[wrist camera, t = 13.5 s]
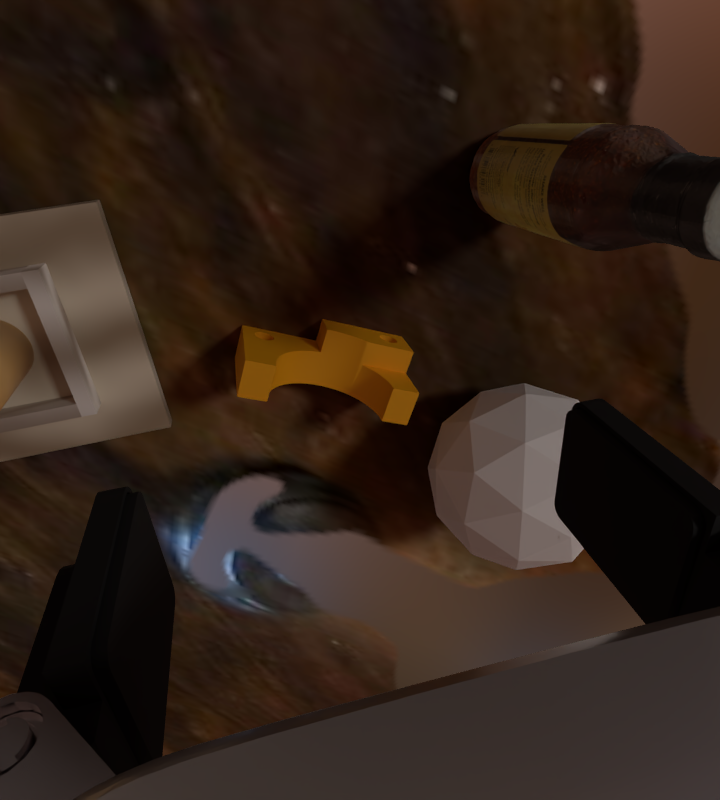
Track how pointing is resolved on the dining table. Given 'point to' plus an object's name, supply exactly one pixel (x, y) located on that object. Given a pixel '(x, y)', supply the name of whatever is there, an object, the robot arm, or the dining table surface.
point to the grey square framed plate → (73, 335)
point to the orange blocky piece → (330, 366)
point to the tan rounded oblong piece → (13, 359)
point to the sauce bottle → (600, 186)
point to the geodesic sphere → (504, 476)
